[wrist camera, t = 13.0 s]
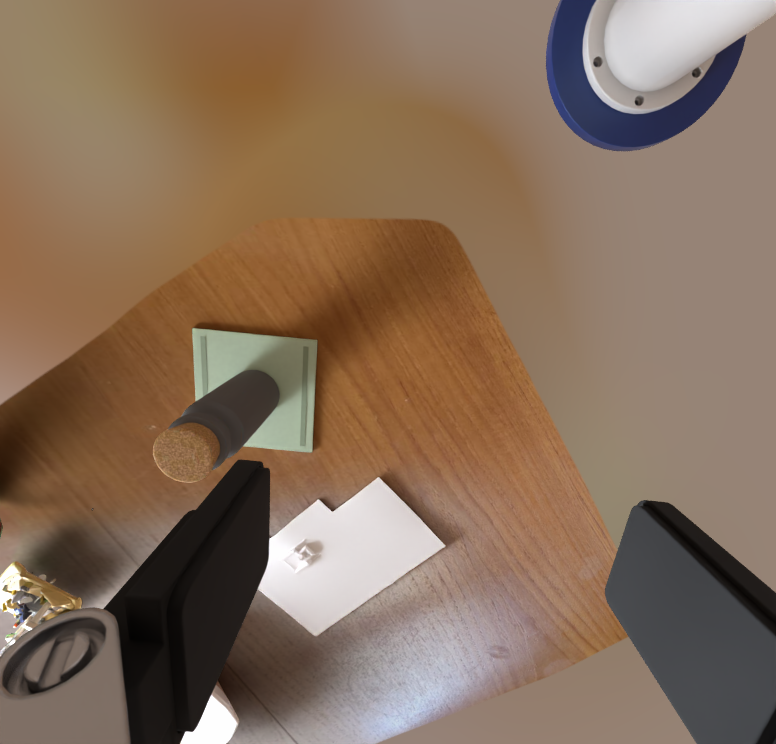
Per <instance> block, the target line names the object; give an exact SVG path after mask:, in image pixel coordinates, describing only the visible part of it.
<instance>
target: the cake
mask: <svg viewBox="0 0 776 744" xmlns="http://www.w3.org/2000/svg"><path fill="white" fill-rule="evenodd" d="M92 511H93V508H92ZM45 580H46V575H40V576H38V577H36V576H34V575H32V573H29V572H27V571H26V569H25V567H24V566H23V565H22V564H20V563H19V562H13V563H12V564H11V565H10V566H9V567H8V568H7V569H6V570H5V571H4V573H3V574H2V575H1V576H0V607H1V608H2V612H5V611H9V612H11V613H13V614H14V617H15V618H16V619H17V621H16V623H15V625H14V626H13V628H16V627H17V626H18V625H19V624H20V623H22V622H24V621H25V620H26V621H25V622H24V623H23V625H22V626H21V627H20V628H19V629H18V630H17V632H16V633H15V634H13V633H11V634H13V635H11V634H9V635H7V637H6V638H5V639H6V640H7V642H8V643H7V644H6V646H5V647H4V648H3V649H2V650H1V651H0V655H2V653H4V650H6V649H7V648H6V647H8V646H9V645H10V644H13V643H14V642H15V641H16V640H18V639H19V638H20V637H19V636H20V635H21V634H22V633H23V632H24V631H25V629H28V630H31V629H33V628H34V627H36V626H37V625H39V624H40V623H42V622H45V621H47V620H49V619H51V618H53V617H55V616H57V615H59V614H63V613H66V612H69V611H73V610H76V609H80V608H81V606H82V600H81V598H77V597H75V596H73V595H71V594H69V593H67V592H65V591H63V590H61V589H59V588H57V587H55V586H54V585H52V584H51V583H54V581H55V580H56V579H54V580H52V581H51V582H49V583H48V582H46V581H45Z"/></svg>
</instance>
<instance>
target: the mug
mask: <svg viewBox="0 0 776 744" xmlns="http://www.w3.org/2000/svg"><path fill="white" fill-rule="evenodd" d="M2 529H3V526H2V523H1V520H0V537H1V533H2Z"/></svg>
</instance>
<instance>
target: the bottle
mask: <svg viewBox="0 0 776 744" xmlns="http://www.w3.org/2000/svg"><path fill="white" fill-rule="evenodd" d="M279 398H280V393H279V388H278V386H277V384H276V382H275V381H274V379H273V378H272V377H271V376H269V375H268V374H266V373H264V372H262V371H259V370H246V371H243V372H241V373H239V374H238V375H236V376H234V377H233V378H231V379H230V380H228V381H227V382H225V383H223V384H222V385H220V386H219V387H217V388H216V389H214V390H213V391H211V392H210V393H208V394H207V395H205V396H204V397H202V398H201V399H199V400H198V401H196V402H195V403H193V404H192V405H190V406H189V407H188V408H187V409H186V410H185V411H184V413H183V414H182V417H180V418H178V419H177V420H175V421H174V422H173V423H172V424H171V425H170V427H169V428H168V430H165V431H164V432H162V433H161V434H160V435H159V436H158V437H157V439H156V440H155V443H154V447H153V455H154V459H155V461H156V464H157V466H158V467H159V468H160V469H161V471H162V472H163V473H165V474H166V475H167V476H169V477H170V478H172V479H174V480H177V481H180V482H196V481H199V480H201V479H203V478H205V477H206V476H207V475H208V474H209V473H210V472H211V470H213V469H215V468H217V467H219V466H220V465H221V464H222V463H223V462H224V461H225V459H227V458H229V457H231V456H233V455H234V454H235V453H237V452H238V451H239V450H240V449H241V448H242V447H243V445H244V444H245V443H246V442H247V441H248V440H249V439H250V437H251V436H252V435H253V434H254V433H255V432H256V431H257V429H258V428H259V427H260V426H261V425H262V424H263V423H264V421H265V420H266V419H267V418H268V417H269V416H270V414H271V413H272V412H273V411H274V409H275V408H276V407H277V405H278V402H279Z"/></svg>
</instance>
